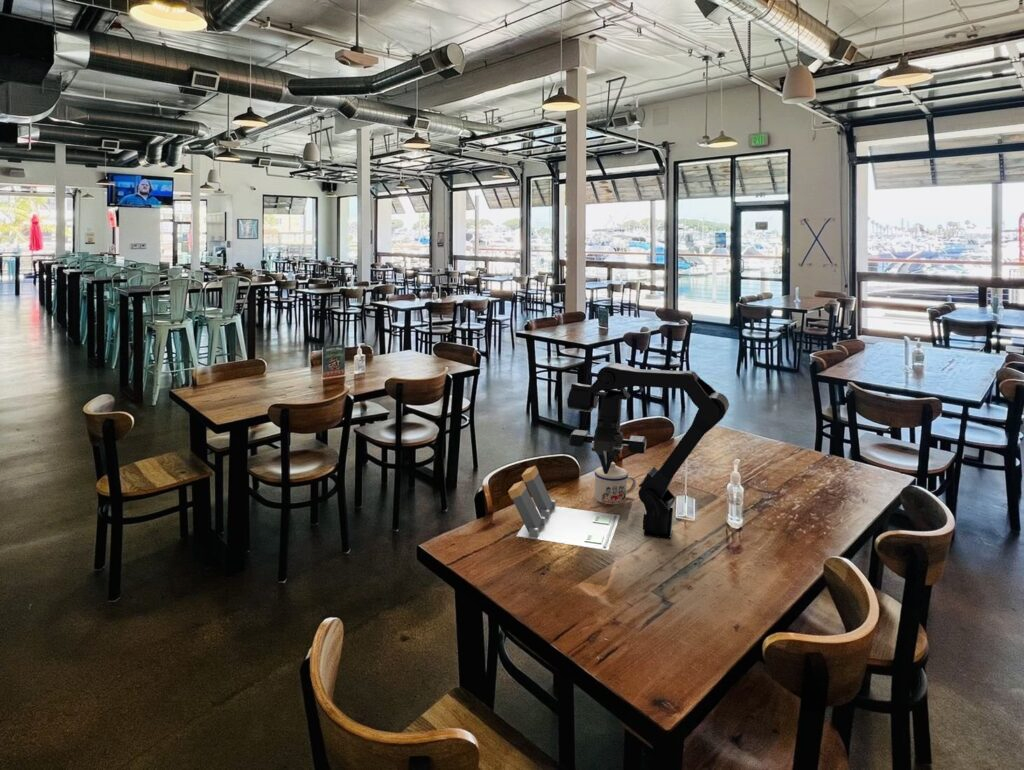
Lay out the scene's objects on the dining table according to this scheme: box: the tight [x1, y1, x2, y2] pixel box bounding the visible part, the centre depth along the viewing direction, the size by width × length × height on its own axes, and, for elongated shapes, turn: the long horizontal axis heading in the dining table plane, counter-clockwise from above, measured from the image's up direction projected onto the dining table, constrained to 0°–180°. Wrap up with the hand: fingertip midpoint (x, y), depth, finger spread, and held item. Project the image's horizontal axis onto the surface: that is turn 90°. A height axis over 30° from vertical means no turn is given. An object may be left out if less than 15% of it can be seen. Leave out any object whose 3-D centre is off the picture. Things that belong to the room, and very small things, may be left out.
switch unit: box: [516, 499, 621, 551], centre depth 160 cm, size 22×20×4 cm
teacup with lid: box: [593, 461, 637, 505], centre depth 176 cm, size 12×9×12 cm
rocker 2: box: [507, 480, 542, 533], centre depth 156 cm, size 3×5×11 cm, turn 163°
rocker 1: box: [521, 465, 553, 514], centre depth 166 cm, size 3×5×11 cm, turn 163°
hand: (605, 473), depth 163 cm, fingers closed
